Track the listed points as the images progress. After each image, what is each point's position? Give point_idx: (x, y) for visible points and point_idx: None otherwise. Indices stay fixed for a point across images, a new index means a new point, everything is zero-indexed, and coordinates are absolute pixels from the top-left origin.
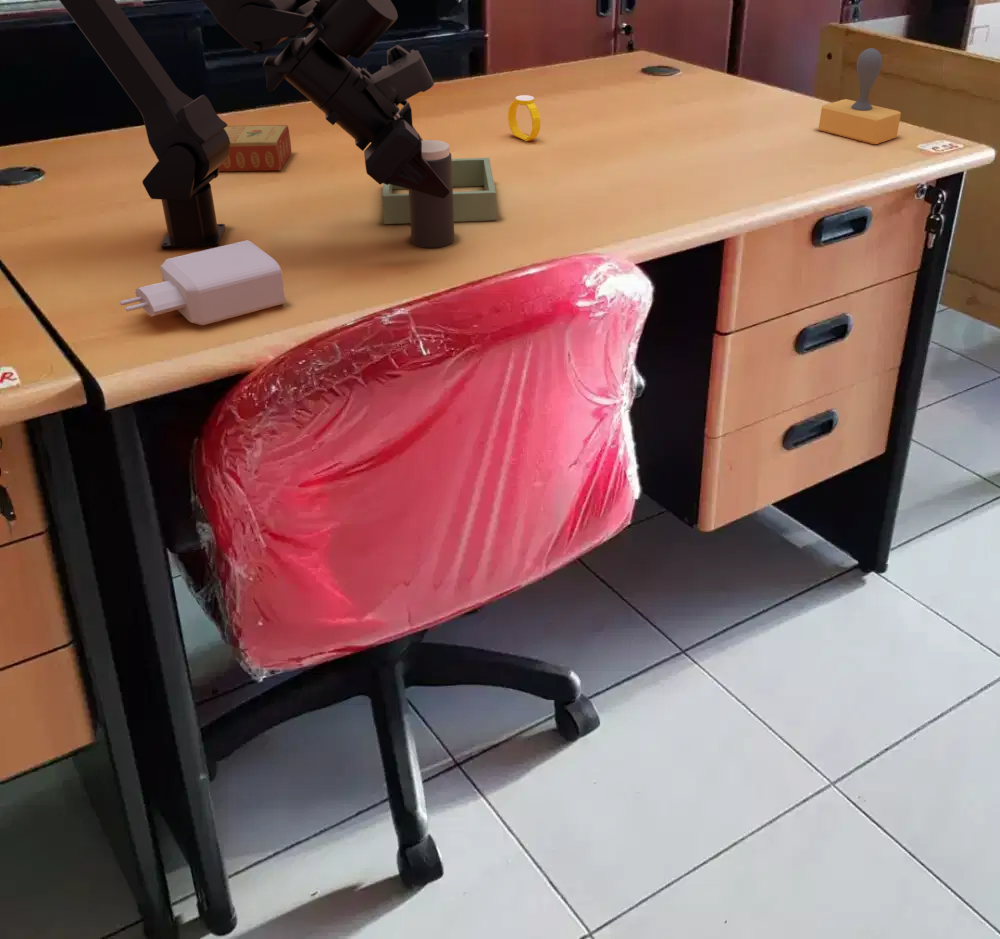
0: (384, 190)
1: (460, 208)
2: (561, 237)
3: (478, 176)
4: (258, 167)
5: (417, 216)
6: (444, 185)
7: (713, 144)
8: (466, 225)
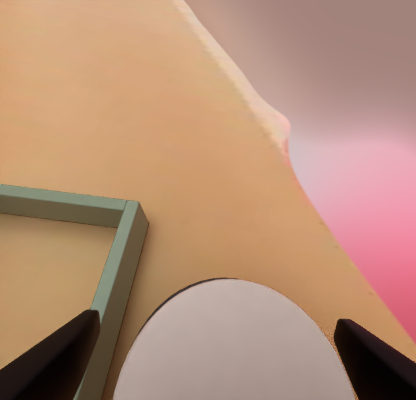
0: None
1: (127, 274)
2: (232, 161)
3: None
4: None
5: None
6: (380, 339)
7: (26, 4)
8: (153, 272)
